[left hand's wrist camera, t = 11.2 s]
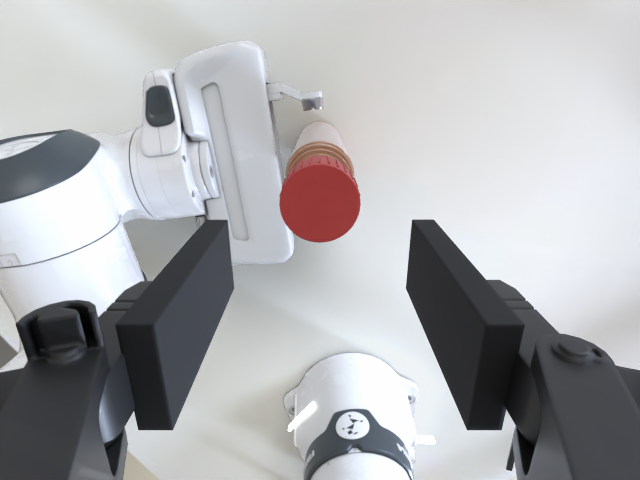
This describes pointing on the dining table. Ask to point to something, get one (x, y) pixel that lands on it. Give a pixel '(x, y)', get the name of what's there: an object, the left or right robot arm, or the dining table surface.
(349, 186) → the cap
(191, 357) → the left robot arm
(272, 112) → the right robot arm
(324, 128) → the bottle
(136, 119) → the dining table surface
